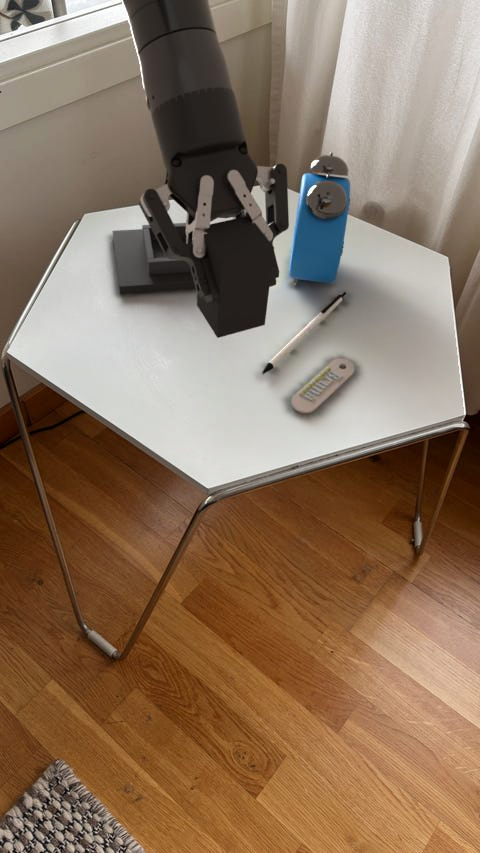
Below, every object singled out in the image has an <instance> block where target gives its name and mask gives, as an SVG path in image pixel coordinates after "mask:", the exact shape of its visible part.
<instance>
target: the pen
mask: <svg viewBox="0 0 480 853" xmlns="http://www.w3.org/2000/svg"><path fill="white" fill-rule="evenodd" d="M347 293H348V292H347V291H343V293H342V294H341V293H338V294H337V295H336V296H335V297H334V298H333V300H330V302H329V303H328V304H327V305H326V306H325V307H324V308H323V309H322V310H321V311H320V312H319V313H318V314H317V315H316V316H315V317H314V318H313V319H312V320H311V321H309V323H308V324H307V325H306V326H305V327H303V329H302V330H301V331H299V332H298V333H297V334H296V335H295V336H294V337H293V338H292V339H291V340H290V341H288V343H287V344H286V345H284V347H283V348H282V349H281V350H279V352H278V353H277V354H275V355H274V357H273V358H271V359H270V360H269V361H268V362H267V364H266V365H265V367H264V368H263V370H262V372H261V375H265V374H266V373H268V372H270V371H271V370H273V369H274V368H275V367H276V366H278V364H280V363H281V362H282V361H283V360H284V358H286V357H287V355H289V354H290V353H291V352H292V351H293V350H294V349H295V348H296V347H297V346H298V345H299V344H300V343H301V342H302V341H303V340H304V339H305V338H306V337H307V336H308V335H309V334H310V333H311V332H312V331H314V329H315V328H316V327H317V326H318V325H319V324H321V323H322V321H324V319H325V318H327V317H328V316H329V315H330V314H331V313H332V312H333V310H335V309H336V308H337V307H338V306H339V305H340V304H341V303H342V302H343V301H344V298H345V296H346V295H347Z"/></svg>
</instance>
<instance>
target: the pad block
mask: <svg viewBox="0 0 480 853" xmlns="http://www.w3.org/2000/svg"><path fill="white" fill-rule="evenodd" d="M204 238H205V242H206V245H207V247H206V254H205V255H206V258H208V257H209V258H210V262H211V266H212V270H213V273H214V277H215V281H216V285H217V288H218V292H219V299H218V300H216V301H212V302H208V303H207V302H206V301H205V298H204V297H201V298H200V296H199V295H198V293H197V292H196V307H197V308H198V310H199V312H201V314H202V316H203V317H204V319H205V320H206V323H207V324H208V326H209V328H211V330H212V332H213V334H214V335H215V337H216V338H217V339H219V338H222V337H227V336H230V335H234V334H237V333H238V334H239V333H241V332H244V331H245V332H246V331H248V330H252V329H255V328H258V327H263V326H265V325H266V319H267V310H268V301H269V294H270V287H269V286H270V278H271V270H272V262H273V253H274V252H275V246H274V244H273V245H272V244H271V243H270V241H269V240H268V239H267V238H266V236H265V235H264V234H263V232H262V231H261V230H260V229H259V227H258V226H257V225H256V224H255V223H251V222H250V221H248V220H247V219H246V218H244V217H241V218H236V219H233V218H232V219H229V220H227V219H226V220H222V221H219V222H214V223H210V228H209V231H208V234H204Z"/></svg>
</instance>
